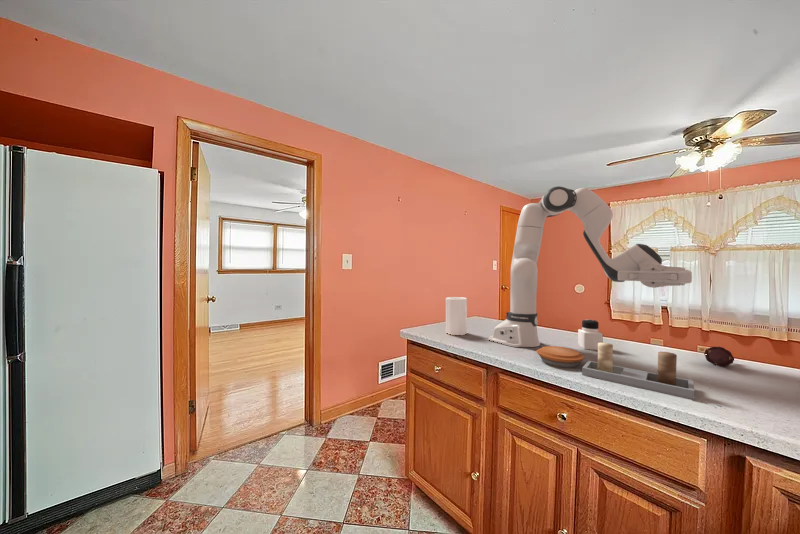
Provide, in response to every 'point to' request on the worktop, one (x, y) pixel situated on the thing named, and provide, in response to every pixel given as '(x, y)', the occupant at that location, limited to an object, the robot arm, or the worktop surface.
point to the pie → (560, 356)
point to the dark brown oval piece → (719, 356)
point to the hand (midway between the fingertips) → (651, 276)
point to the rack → (640, 379)
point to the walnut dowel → (667, 368)
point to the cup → (456, 315)
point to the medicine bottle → (589, 335)
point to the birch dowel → (605, 357)
